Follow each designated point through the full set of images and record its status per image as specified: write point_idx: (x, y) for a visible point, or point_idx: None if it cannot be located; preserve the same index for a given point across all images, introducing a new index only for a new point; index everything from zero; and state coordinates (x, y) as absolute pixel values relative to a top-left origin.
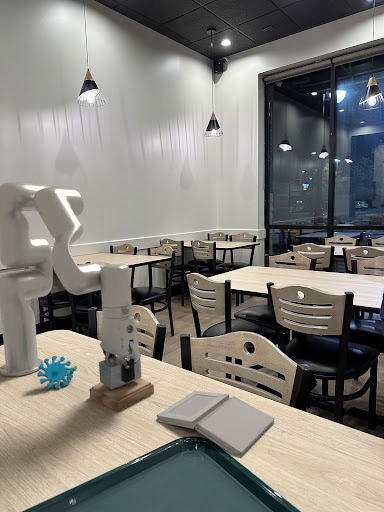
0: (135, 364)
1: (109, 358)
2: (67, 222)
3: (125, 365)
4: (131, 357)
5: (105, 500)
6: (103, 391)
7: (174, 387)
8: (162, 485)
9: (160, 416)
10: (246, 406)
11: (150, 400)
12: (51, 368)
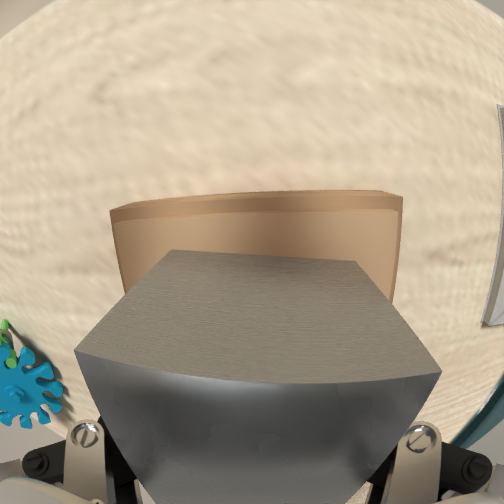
0: (431, 426)
1: (149, 492)
2: None
3: (376, 484)
4: (413, 498)
5: (466, 446)
6: None
7: (412, 86)
8: None
9: (499, 323)
10: None
11: (412, 256)
12: (8, 403)
